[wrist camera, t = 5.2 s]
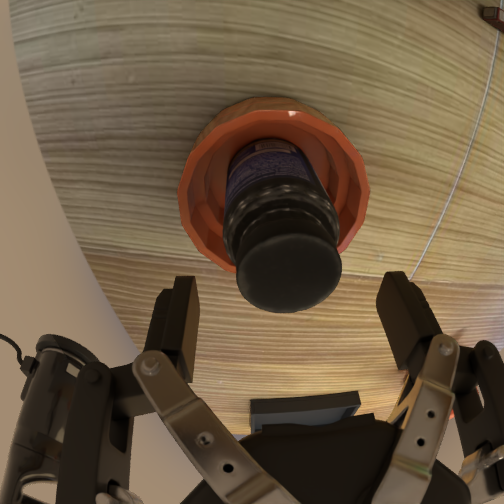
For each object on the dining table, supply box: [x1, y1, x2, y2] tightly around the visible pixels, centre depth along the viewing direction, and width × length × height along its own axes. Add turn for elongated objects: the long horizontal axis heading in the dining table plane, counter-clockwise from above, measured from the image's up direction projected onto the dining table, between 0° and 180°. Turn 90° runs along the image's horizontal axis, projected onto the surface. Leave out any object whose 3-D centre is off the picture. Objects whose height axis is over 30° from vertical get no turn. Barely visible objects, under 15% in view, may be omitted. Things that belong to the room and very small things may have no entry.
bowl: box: [177, 97, 370, 273], centre depth 20 cm, size 12×12×5 cm
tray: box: [250, 391, 361, 434], centre depth 47 cm, size 17×13×3 cm
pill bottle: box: [222, 138, 342, 313], centre depth 18 cm, size 6×6×11 cm
